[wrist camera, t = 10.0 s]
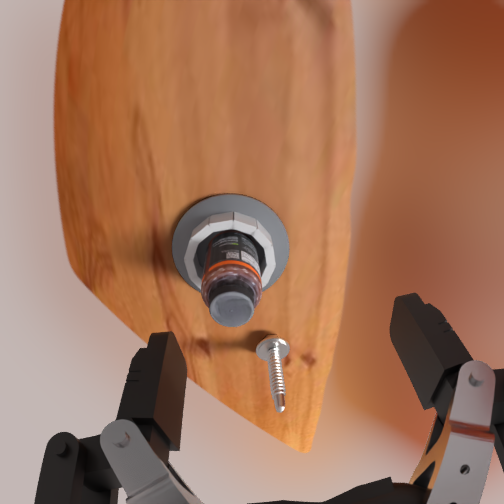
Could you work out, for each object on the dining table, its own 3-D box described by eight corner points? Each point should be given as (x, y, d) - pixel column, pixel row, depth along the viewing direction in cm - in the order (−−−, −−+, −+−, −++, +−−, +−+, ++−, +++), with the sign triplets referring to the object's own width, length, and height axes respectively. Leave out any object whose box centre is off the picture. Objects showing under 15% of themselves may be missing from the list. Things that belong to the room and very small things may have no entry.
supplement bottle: (222, 279, 39) (218, 343, 29) (197, 241, 36) (183, 299, 26) (265, 260, 38) (275, 321, 28) (243, 219, 35) (245, 272, 25)
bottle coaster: (159, 205, 35) (153, 216, 32) (280, 184, 34) (285, 192, 32) (189, 303, 41) (186, 318, 39) (293, 287, 41) (297, 302, 38)
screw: (277, 323, 44) (293, 342, 46) (248, 338, 45) (266, 355, 47) (288, 396, 32) (307, 412, 34) (252, 411, 33) (274, 426, 35)
